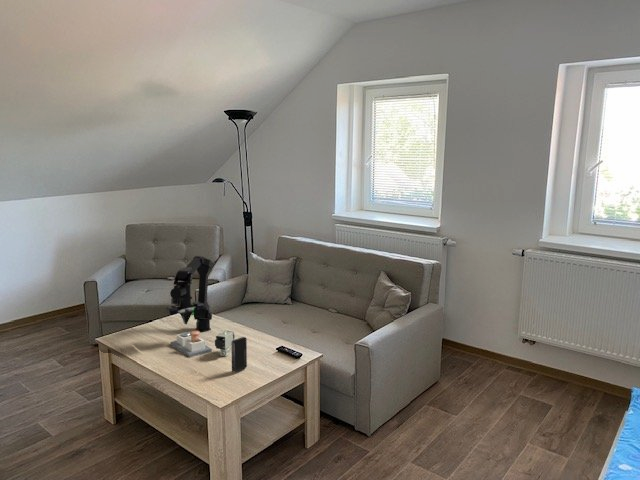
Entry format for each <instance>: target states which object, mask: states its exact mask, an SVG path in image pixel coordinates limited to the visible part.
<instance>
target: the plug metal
mask: <svg viewBox="0 0 640 480" xmlns="http://www.w3.org/2000/svg"><path fill="white" fill-rule="evenodd" d="M190 332H191V331H183V332H181V333H180V334H181V336H182V337H183V338H184V337H188V336H190Z"/></svg>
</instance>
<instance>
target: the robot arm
mask: <svg viewBox="0 0 640 480" xmlns="http://www.w3.org/2000/svg"><path fill="white" fill-rule="evenodd" d="M213 265H214V264H213V262H212V260H211V259H209V258H206V257H204V256H200V255H195V256H193V259H192V260H191V261H190V262H189V263H188V264H187V265H186V266H185V267H183V268H180V269H179V270H177V272H176V274H175V277H174V281H173V288H171V290H170V293H169V294H170V298H171V299H170V303H171V305H170V306H166V307H165V313H166V314H168V315H169V316H172V315H177V314H179V315H180V317H181V319H182V320H183V324H184V325H188V322H189V320H190V318H191V316H192V315H193V314H194V315H193V318H194V320H195V321H196V323H195V326H196V328H195V331H199V332H200V333H203V332H207V331H211V330H212V328H211V323H210V321H211V320H212V318H213V314H212V312H211V310H210V305H209V303H208V286H209V285H208V284H209V276H210V274H211V273H212V271H213ZM196 271H197V273H198V275H199V278H198V295H197V301H194V302H192V299H193V297H192V293H191V290H192V289H191V288H192V287H191V285H192V284H193V283H192V281H193V279H194V273H195V272H196ZM193 308H194V311H193ZM192 313H193V314H192Z"/></svg>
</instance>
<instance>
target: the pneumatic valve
mask: <svg viewBox="0 0 640 480" xmlns="http://www.w3.org/2000/svg"><path fill="white" fill-rule="evenodd" d="M235 337H236V336H235V334H234V331H231V330H223V331H222V332H219V333H218V334H217V335H215V339H214V346H215V348H216V349H217V350H219V351H220V357H225V358H226V357H228V356H229V355H230V354H231V353H230V350H231V349H230V347H231V342H232V340H235V339H236V338H235Z"/></svg>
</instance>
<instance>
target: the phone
mask: <svg viewBox="0 0 640 480" xmlns="http://www.w3.org/2000/svg"><path fill="white" fill-rule="evenodd" d="M247 341H248V339H247V337H246V336H241V337H237V338H234V340H232V342H231V346H230V347H231V371H232V372H233V373H237V372H240V371H242V370H246V369H247V366H248V363H247V362H248V361H247V360H248V356H247V355H248V354H247V353H248V351H247V348H248V347H247V345H248V344H247Z"/></svg>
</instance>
